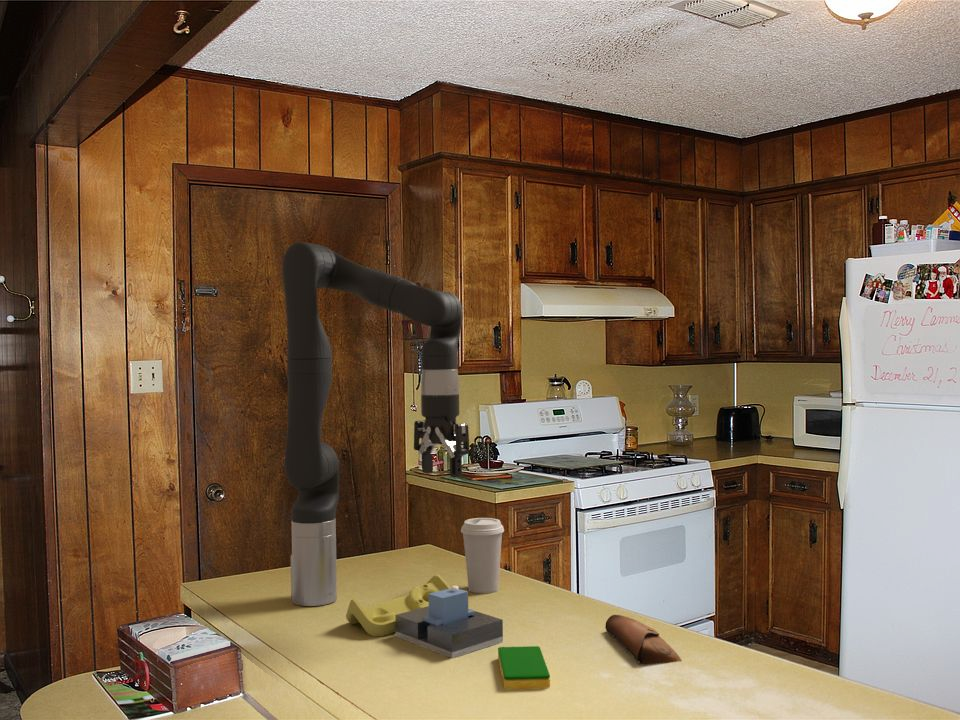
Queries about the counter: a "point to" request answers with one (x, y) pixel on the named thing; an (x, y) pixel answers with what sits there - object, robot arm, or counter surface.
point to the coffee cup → (482, 553)
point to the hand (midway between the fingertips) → (441, 474)
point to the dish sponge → (523, 668)
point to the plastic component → (393, 608)
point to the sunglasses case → (640, 641)
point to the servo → (448, 606)
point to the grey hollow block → (449, 632)
